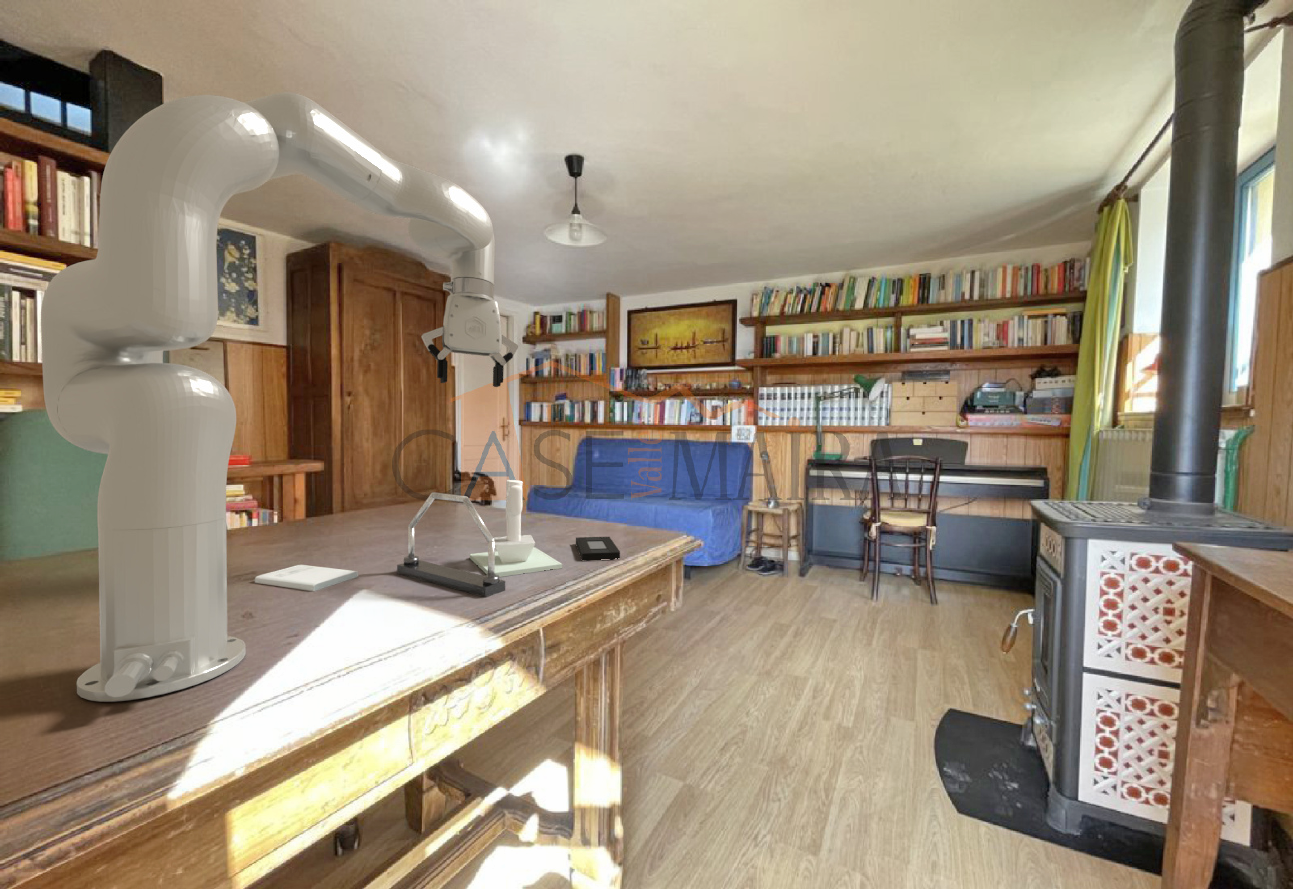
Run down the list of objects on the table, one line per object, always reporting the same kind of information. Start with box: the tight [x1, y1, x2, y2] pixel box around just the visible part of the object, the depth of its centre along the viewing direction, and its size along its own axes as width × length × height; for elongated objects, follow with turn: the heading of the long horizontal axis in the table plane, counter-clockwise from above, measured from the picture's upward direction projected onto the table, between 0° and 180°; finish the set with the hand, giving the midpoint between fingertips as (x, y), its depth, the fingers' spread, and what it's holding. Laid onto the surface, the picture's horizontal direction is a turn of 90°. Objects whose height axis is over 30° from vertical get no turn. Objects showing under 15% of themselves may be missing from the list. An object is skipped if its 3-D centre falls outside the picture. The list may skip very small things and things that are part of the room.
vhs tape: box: [575, 536, 621, 561], centre depth 106 cm, size 8×14×2 cm, turn 13°
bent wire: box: [396, 492, 506, 598], centre depth 84 cm, size 22×4×14 cm, turn 59°
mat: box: [469, 546, 563, 578], centre depth 96 cm, size 15×13×1 cm
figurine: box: [492, 479, 536, 563], centre depth 96 cm, size 7×9×15 cm
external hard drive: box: [254, 564, 359, 592], centre depth 84 cm, size 2×8×12 cm
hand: (470, 384), depth 96 cm, fingers open, 9 cm apart
